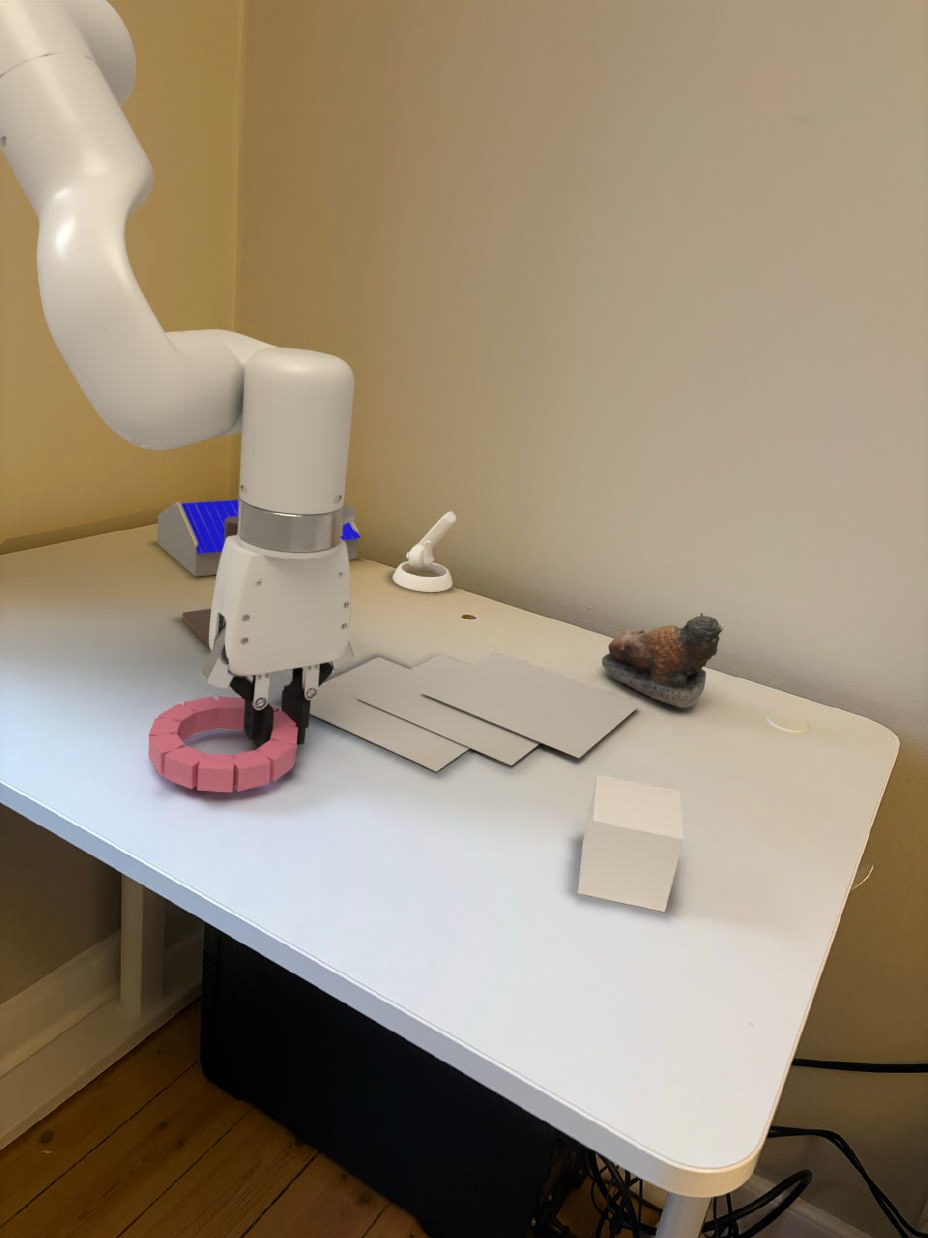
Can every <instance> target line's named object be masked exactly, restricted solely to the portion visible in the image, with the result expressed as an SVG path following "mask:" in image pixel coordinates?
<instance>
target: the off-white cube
mask: <svg viewBox="0 0 928 1238" xmlns="http://www.w3.org/2000/svg"><path fill="white" fill-rule="evenodd" d="M683 826H684V825H683V815H682V800H681V791H680V790H674V789H669V788H664V787H659V786H655V785H649V784H644V783H639V782H634V781H629V780H625V779H620V778H614V777H609V776H604V775H600V774H596V778H595V782H594V787H593V792H592V795H591V801H590V805H589V811H588V815H587V819H586V826H585V830H584V834H583V840H582V846H581V857H580V866H579V876H578V885H577V894H579V895H584V896H587V897H593V898H597V899H602V900H607V901H612V902H616V903H620V904H625V905H629V906H634V907H638V908H644V909H647V910H652V911H657V912H662V913H665V912H666V910H667V905H668V902H669V898H670V893H671V891H672V887H673V883H674V878H675V875H676V871H677V867H678V863H679V859H680V856H681V851H682V847H683V843H684V839H685V838H684V827H683Z"/></svg>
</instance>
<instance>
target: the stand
mask: <svg viewBox="0 0 928 1238" xmlns="http://www.w3.org/2000/svg"><path fill="white" fill-rule="evenodd" d="M237 526H238V517H237V516H233V517H227V518H226V519H225V534H224V543H225V540H226V538H227V537H228V536H234V535H237ZM210 616H211V608H207V609H206V608H205V609H198V610H190V611H183V612H182V618H181V619H182V622H183V623H184V624H185V625H186V626H187V627H188V629H190V630H191V631H192V632H193V633H194V634H195V635H196V636H197V637H198V639H200V640H201V642H203V643H204V644H205V645H206V646H207V647H208V649H210V647H209V627H210Z"/></svg>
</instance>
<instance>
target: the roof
mask: <svg viewBox="0 0 928 1238" xmlns="http://www.w3.org/2000/svg"><path fill="white" fill-rule="evenodd" d="M238 504H239V499H230V500H229V499H228V500H214V501H199V502H198V501H197V502H181V501H174V503H173V504H171V505H170V506H169V507H167V508H166V509H164V510H163V511H162V512H160V513H159V514H158V515H157V517H156V520H157V545H158V546H159V547H161V548H162V549H163V550H164V551H165V552H166V553H167V554H169V555H170V557H172V558H173V559H175V561H177V562H178V563H179V564H180V565H181V566H182V567H184V568H185V569H186V570H187V571H188V572H189V573H190V574H192V576H194V577H195V578H198V577H207V576H214V575H217V570H218V566H219V561H220V557H221V554H222V550H223V547H224V534H225V519H226V518H227V517H233V516H237V517H238ZM359 533H360V531H359V529H358V527H357V526H356V524H355V521H354V522H350V523H346V524H345V525H343V534H342V536H341V539H343V540H344V541H345V543H346V546H347V552H348V559H349V561H350V560H351V561H352V560H357V558H358V557H357V556H358V546H359V539H361V536H360V534H359Z"/></svg>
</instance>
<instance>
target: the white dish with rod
mask: <svg viewBox="0 0 928 1238" xmlns="http://www.w3.org/2000/svg"><path fill="white" fill-rule="evenodd" d="M456 521H457V516H456V514H455V513H454V512H453V511H451V510H450V511H448V512H446V513H445V514H443V515H442V516H441V517H440V519H438V520H437V521H436V523H435V524H434V525H433V526H432V527H431V529H429V531H428V532H427V533H426V534H425V535H424V536H423V538H422V539H421V540H420V541H419V542H418V543H416V544H415V545H414V546H413V547H412V548H411V549H410V551H407V553H406V556H405V557H406V559H407V560H408V561H404V562H401V563H400V564H399V565H398V566H397V567H396V569H395V570H394V573H393V575H392V581H393V583H395V584H396V585H398V586H400V587H403V588H405V589H408V590H411V591H415V592H416V591H417V592H422V593H437V592H444V591H447V590H449V589H451V588H452V587H453V584H454V583H453V578H452V576H451V572H450V570H449V569H448V568H447V567H446V566H444V565H442V564H440V563H437V562H434V561H435V558H434V552H433V549H434V547H435V546H436V545H437V544H438V543H439V541H441V539H442V538H443V537H444V536H445V535H446V534H447V533H448V532H449V531H450V529H451V528H452V527H453V526H454V525H455V524H456ZM410 572H419V573H420V572H421V573H429V574H433V575H437V576H421V575H416V574H413V573H410Z"/></svg>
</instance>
